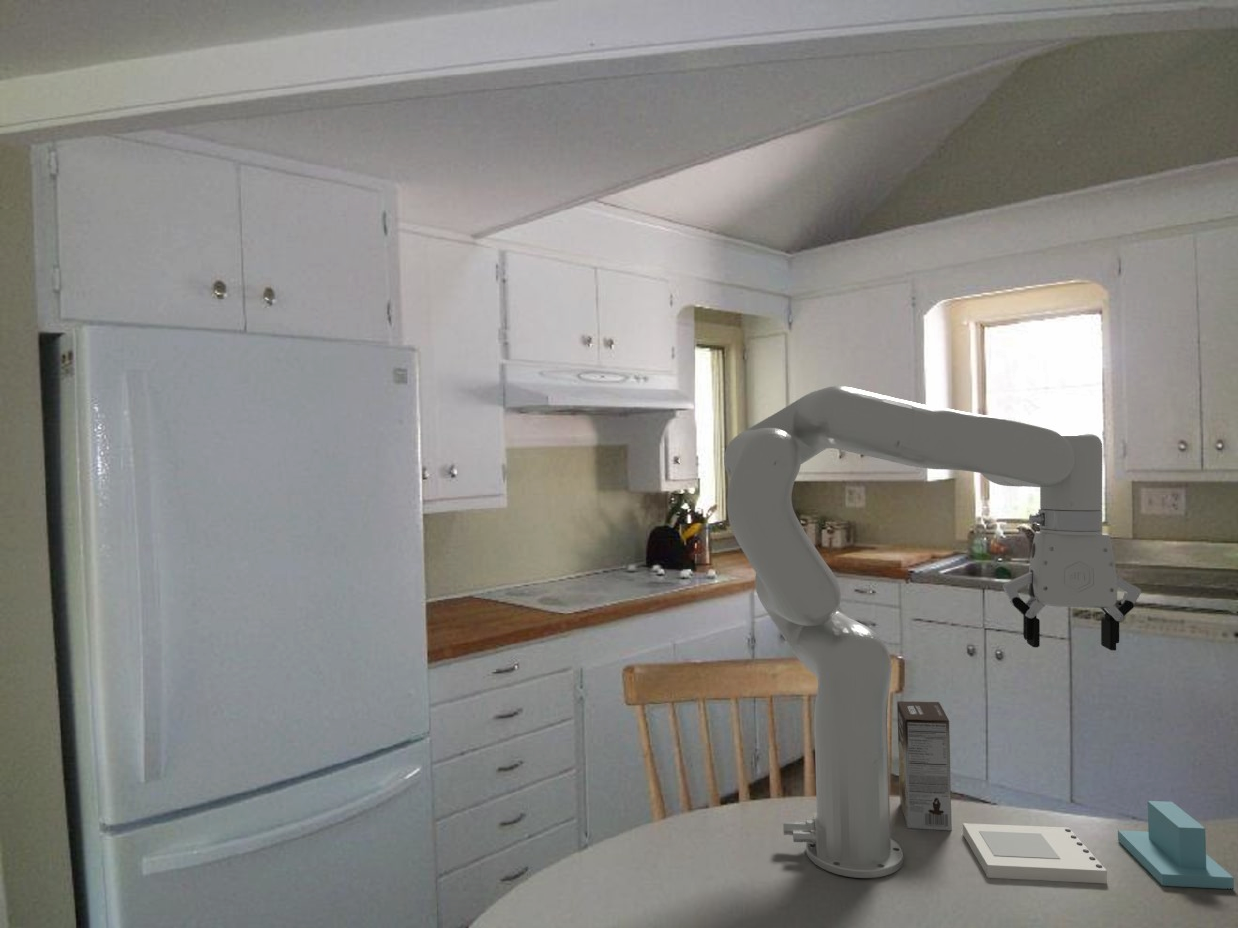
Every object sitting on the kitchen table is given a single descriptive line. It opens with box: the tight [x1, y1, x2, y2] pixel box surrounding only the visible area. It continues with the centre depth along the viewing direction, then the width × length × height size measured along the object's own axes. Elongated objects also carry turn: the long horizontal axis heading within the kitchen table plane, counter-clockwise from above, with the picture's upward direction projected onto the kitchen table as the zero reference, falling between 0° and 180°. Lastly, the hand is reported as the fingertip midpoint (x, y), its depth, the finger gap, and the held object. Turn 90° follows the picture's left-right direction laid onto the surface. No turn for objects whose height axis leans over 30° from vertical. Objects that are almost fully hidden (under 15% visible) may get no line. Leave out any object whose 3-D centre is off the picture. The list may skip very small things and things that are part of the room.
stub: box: [1117, 800, 1235, 890], centre depth 105 cm, size 8×12×6 cm, turn 171°
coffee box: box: [896, 700, 953, 832], centre depth 121 cm, size 9×6×16 cm
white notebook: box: [962, 822, 1108, 884], centre depth 108 cm, size 14×12×2 cm
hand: (1070, 646), depth 112 cm, fingers open, 9 cm apart
